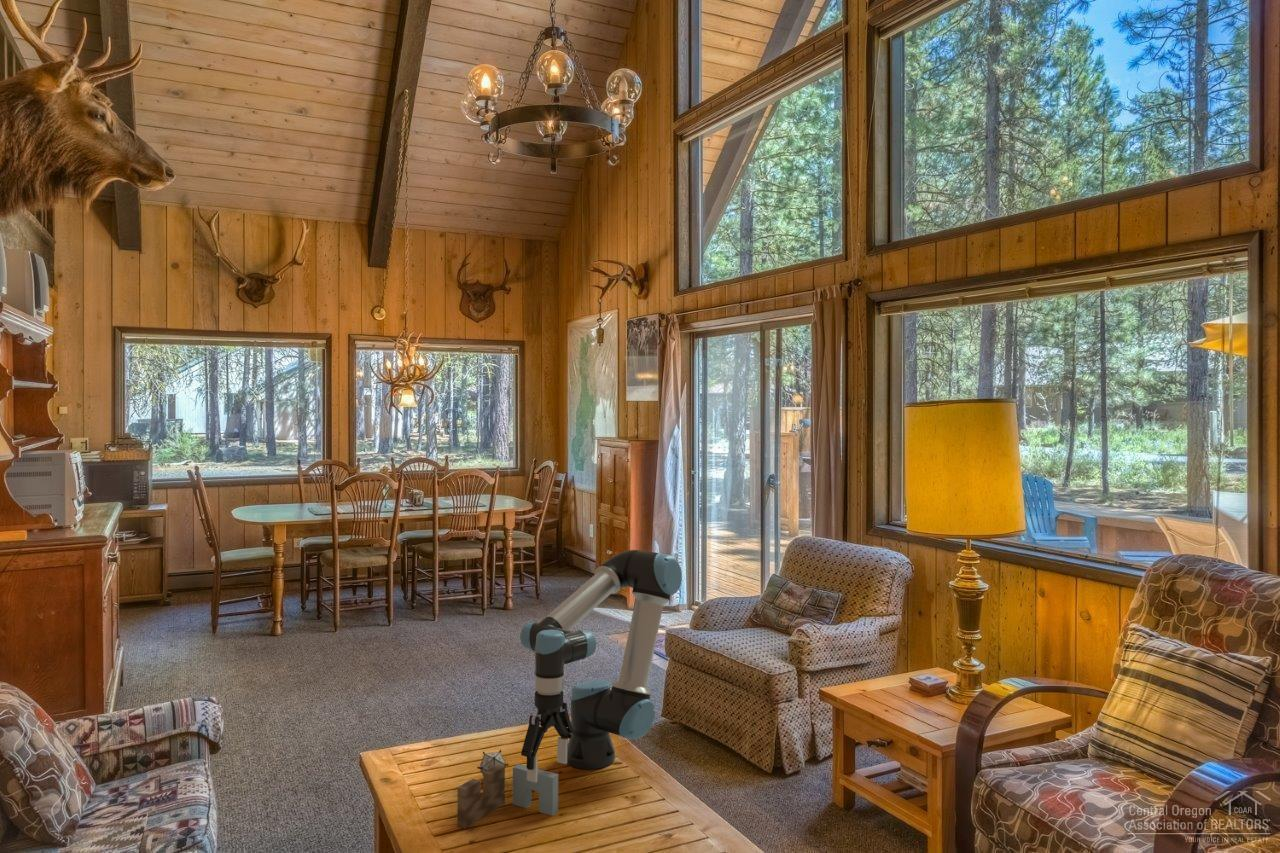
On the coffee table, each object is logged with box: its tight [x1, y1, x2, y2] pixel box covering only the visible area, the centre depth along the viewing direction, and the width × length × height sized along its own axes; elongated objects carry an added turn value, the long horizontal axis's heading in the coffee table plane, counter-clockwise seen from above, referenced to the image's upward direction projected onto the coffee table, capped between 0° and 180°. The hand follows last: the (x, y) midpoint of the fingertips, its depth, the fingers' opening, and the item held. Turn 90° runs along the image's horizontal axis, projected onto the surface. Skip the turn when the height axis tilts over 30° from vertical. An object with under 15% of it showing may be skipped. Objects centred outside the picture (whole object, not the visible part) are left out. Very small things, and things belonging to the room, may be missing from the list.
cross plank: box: [512, 763, 559, 817], centre depth 224 cm, size 2×13×10 cm, turn 61°
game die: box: [476, 749, 510, 776], centre depth 240 cm, size 9×8×10 cm
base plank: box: [456, 764, 506, 830], centre depth 220 cm, size 16×2×10 cm, turn 151°
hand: (547, 771), depth 221 cm, fingers open, 13 cm apart
